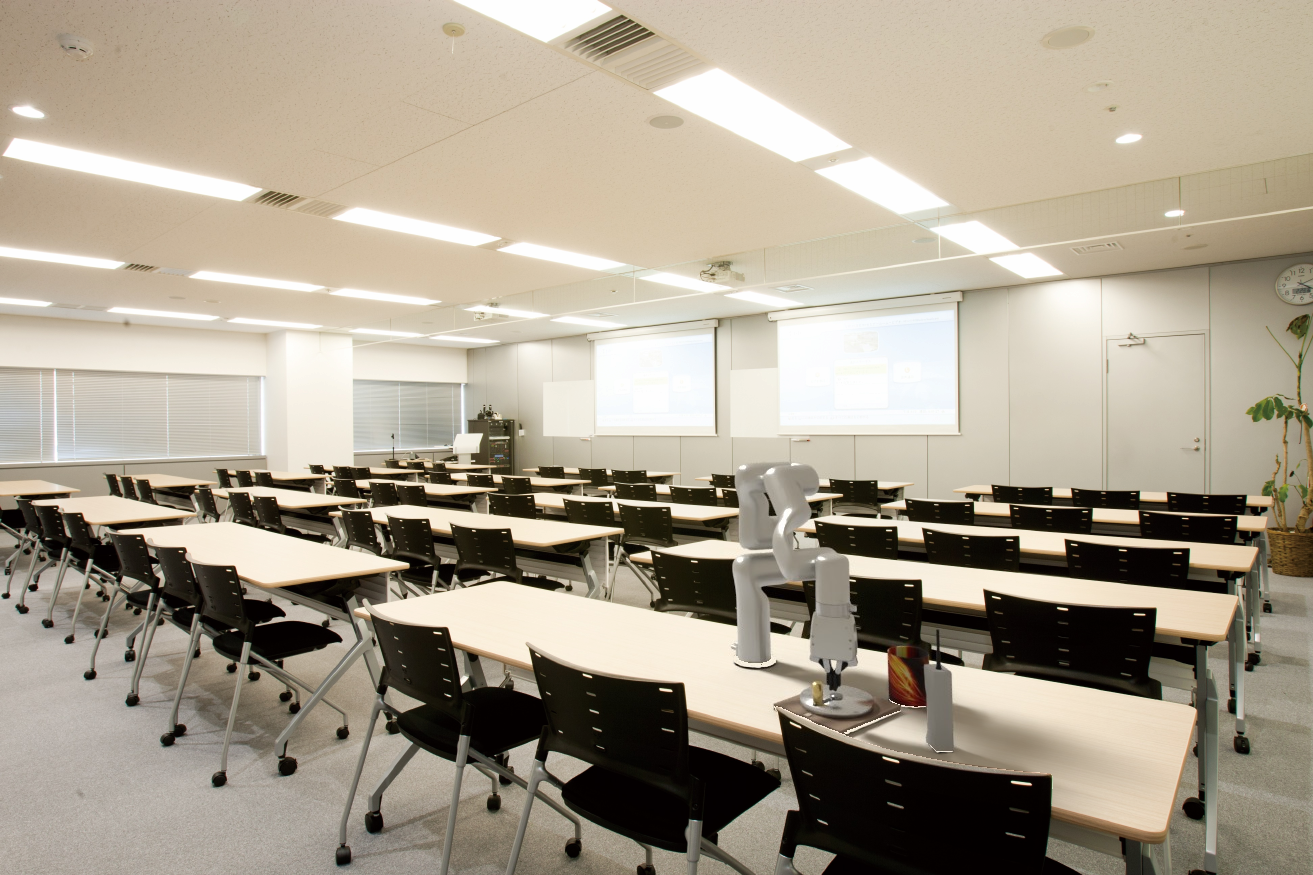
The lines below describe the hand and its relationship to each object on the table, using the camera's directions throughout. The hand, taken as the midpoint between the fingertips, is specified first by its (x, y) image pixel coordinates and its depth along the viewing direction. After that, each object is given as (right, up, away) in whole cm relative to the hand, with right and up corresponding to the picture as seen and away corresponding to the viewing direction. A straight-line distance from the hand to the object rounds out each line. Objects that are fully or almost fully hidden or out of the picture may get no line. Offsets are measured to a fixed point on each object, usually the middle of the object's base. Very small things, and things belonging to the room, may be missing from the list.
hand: (833, 688), depth 156 cm
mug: (+23, -8, +11) cm, 27 cm away
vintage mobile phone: (+19, -8, -13) cm, 24 cm away
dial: (+3, -7, +7) cm, 10 cm away
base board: (+3, -8, +7) cm, 11 cm away
